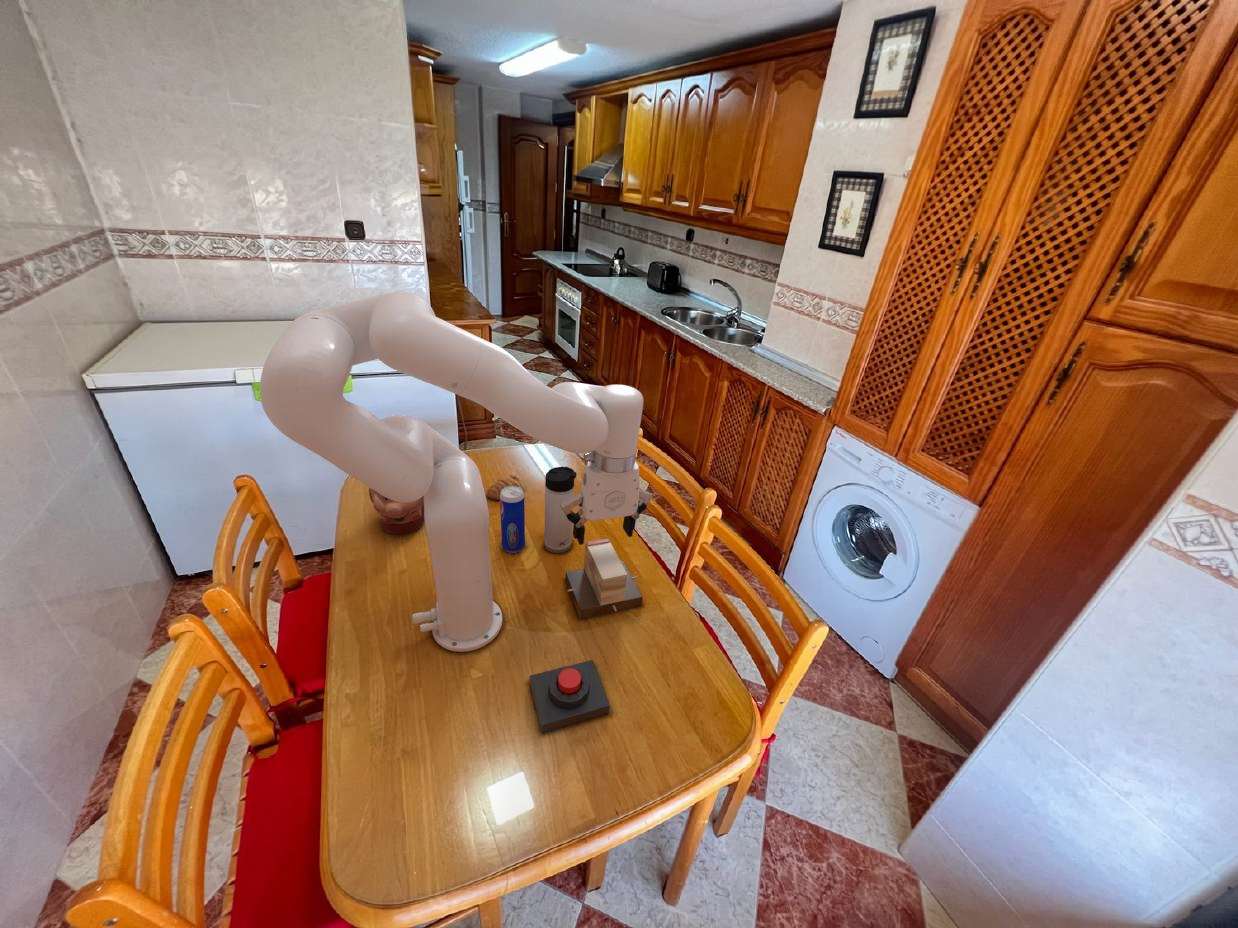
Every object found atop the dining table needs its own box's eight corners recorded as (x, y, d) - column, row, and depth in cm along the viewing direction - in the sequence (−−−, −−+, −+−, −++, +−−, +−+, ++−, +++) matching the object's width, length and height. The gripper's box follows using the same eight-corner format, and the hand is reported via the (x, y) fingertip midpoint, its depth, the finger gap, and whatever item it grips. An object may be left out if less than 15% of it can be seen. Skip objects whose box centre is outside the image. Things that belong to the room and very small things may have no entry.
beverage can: (497, 549, 111) (494, 494, 104) (510, 536, 116) (508, 482, 108) (517, 556, 110) (515, 501, 102) (529, 543, 114) (528, 489, 106)
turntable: (577, 628, 94) (578, 619, 93) (557, 574, 106) (558, 565, 105) (650, 612, 99) (651, 602, 98) (623, 562, 111) (624, 553, 110)
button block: (541, 733, 76) (541, 718, 74) (529, 683, 83) (529, 668, 81) (608, 713, 80) (610, 698, 78) (592, 667, 87) (593, 652, 85)
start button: (561, 697, 78) (561, 690, 77) (555, 678, 81) (555, 671, 80) (583, 691, 79) (583, 684, 78) (576, 672, 82) (577, 665, 81)
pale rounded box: (624, 600, 98) (627, 573, 94) (600, 605, 96) (602, 578, 93) (606, 563, 107) (608, 537, 103) (583, 567, 105) (585, 541, 101)
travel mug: (568, 556, 111) (571, 481, 101) (540, 550, 112) (541, 476, 102) (576, 539, 117) (580, 466, 107) (549, 533, 118) (550, 461, 107)
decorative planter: (374, 499, 123) (365, 450, 116) (426, 491, 128) (420, 444, 121) (375, 549, 108) (364, 497, 101) (435, 539, 113) (428, 488, 106)
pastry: (497, 505, 125) (496, 492, 124) (481, 494, 129) (480, 482, 127) (526, 491, 132) (525, 479, 130) (509, 481, 135) (509, 469, 134)
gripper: (570, 473, 78) (564, 556, 87) (668, 463, 85) (653, 541, 93) (558, 450, 84) (553, 530, 93) (649, 443, 91) (637, 518, 99)
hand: (603, 536), depth 93 cm, fingers open, 9 cm apart
